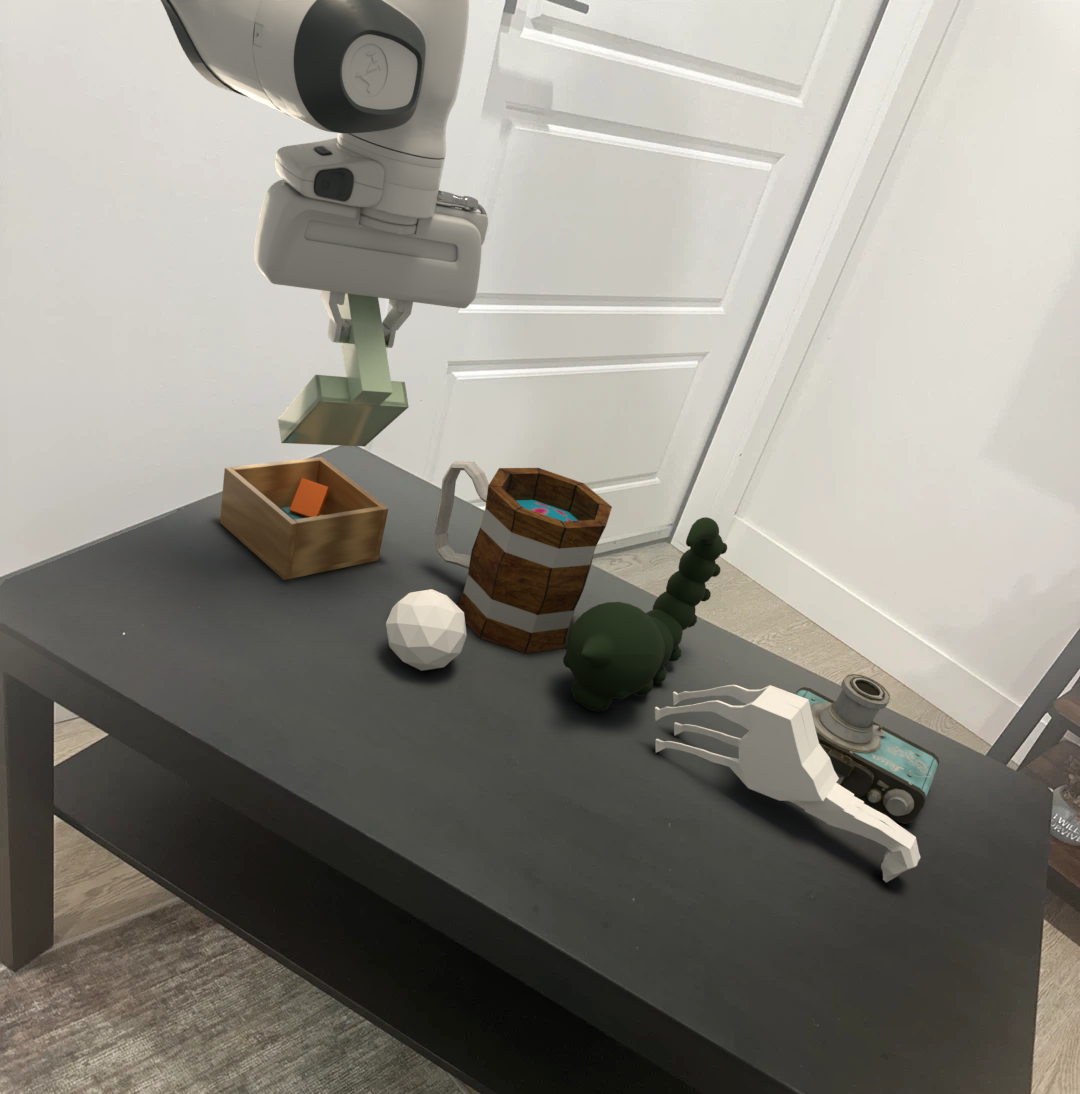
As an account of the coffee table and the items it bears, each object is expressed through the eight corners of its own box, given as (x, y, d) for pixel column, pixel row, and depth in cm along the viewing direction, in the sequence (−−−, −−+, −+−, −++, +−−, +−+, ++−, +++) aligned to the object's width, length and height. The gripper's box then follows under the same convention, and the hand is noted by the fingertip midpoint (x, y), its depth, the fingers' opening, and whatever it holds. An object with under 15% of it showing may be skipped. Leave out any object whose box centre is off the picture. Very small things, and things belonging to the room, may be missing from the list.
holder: (283, 580, 102) (291, 524, 98) (219, 522, 108) (224, 467, 104) (378, 560, 110) (388, 508, 107) (314, 508, 116) (321, 456, 112)
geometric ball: (403, 670, 100) (413, 593, 100) (474, 678, 97) (484, 598, 97) (365, 662, 93) (376, 579, 93) (441, 670, 90) (452, 584, 90)
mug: (593, 628, 112) (636, 511, 103) (531, 669, 101) (572, 542, 93) (459, 550, 118) (489, 433, 109) (387, 581, 107) (414, 454, 99)
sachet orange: (328, 486, 111) (329, 489, 111) (301, 477, 111) (303, 480, 111) (316, 519, 110) (317, 521, 111) (289, 509, 110) (290, 512, 111)
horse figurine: (655, 834, 100) (909, 900, 87) (653, 686, 93) (928, 734, 80) (676, 812, 103) (922, 872, 91) (675, 668, 96) (941, 712, 84)
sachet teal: (305, 504, 113) (304, 510, 114) (281, 507, 111) (280, 513, 112) (324, 521, 111) (323, 527, 112) (299, 524, 109) (298, 530, 110)
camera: (970, 719, 99) (955, 762, 91) (923, 788, 104) (905, 835, 96) (821, 643, 103) (795, 679, 95) (784, 713, 108) (756, 752, 101)
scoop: (422, 395, 91) (406, 290, 91) (330, 388, 86) (313, 277, 86) (364, 446, 103) (350, 353, 103) (281, 443, 98) (266, 345, 98)
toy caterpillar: (626, 640, 115) (515, 702, 95) (689, 492, 105) (580, 526, 85) (694, 680, 112) (594, 752, 92) (766, 531, 103) (671, 576, 82)
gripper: (476, 190, 90) (444, 340, 98) (257, 145, 79) (241, 318, 87) (508, 212, 86) (472, 365, 94) (282, 167, 75) (263, 346, 83)
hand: (359, 343), depth 90 cm, fingers closed on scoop, 3 cm apart
